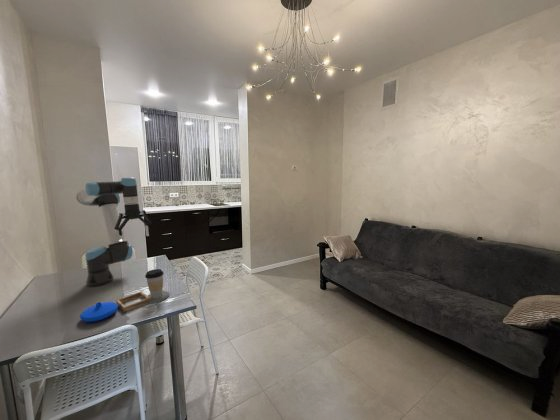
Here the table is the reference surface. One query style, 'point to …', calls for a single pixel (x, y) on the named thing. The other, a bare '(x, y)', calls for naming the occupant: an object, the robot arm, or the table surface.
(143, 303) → the wooden square frame
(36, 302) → the table surface
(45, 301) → the table surface
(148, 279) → the coffee cup
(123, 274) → the table surface
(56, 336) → the table surface
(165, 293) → the grey round plate
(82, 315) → the blue spouted lid
